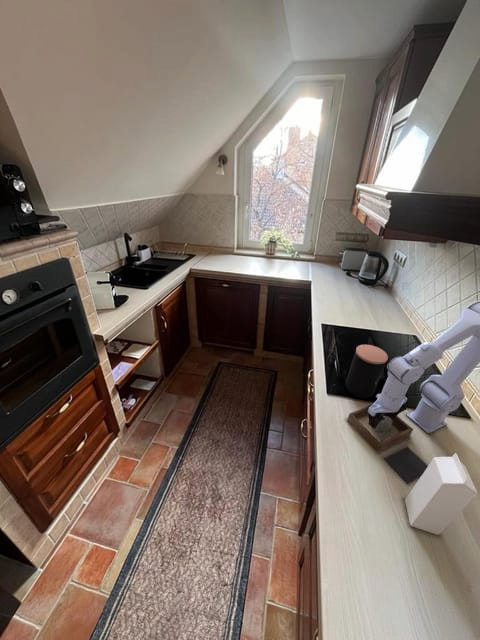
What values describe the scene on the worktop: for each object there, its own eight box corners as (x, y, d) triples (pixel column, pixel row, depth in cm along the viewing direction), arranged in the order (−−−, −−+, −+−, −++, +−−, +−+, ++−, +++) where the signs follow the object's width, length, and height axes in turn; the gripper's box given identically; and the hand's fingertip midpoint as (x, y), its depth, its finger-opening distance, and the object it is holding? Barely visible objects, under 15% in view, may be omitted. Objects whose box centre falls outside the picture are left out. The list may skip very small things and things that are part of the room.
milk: (410, 526, 61) (449, 474, 50) (404, 499, 66) (439, 447, 55) (439, 535, 60) (486, 485, 49) (431, 508, 65) (472, 456, 54)
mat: (407, 447, 79) (407, 446, 79) (431, 470, 73) (431, 469, 73) (384, 459, 76) (384, 458, 76) (407, 484, 70) (407, 483, 69)
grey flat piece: (386, 425, 86) (393, 409, 82) (388, 430, 84) (396, 413, 80) (365, 426, 86) (372, 409, 82) (368, 430, 84) (375, 414, 80)
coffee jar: (375, 402, 95) (390, 365, 86) (345, 395, 98) (356, 358, 89) (372, 383, 104) (385, 347, 95) (344, 377, 106) (355, 342, 97)
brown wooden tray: (377, 407, 93) (380, 401, 91) (409, 436, 83) (413, 429, 81) (346, 420, 88) (349, 413, 86) (376, 452, 78) (380, 445, 76)
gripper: (398, 378, 83) (385, 406, 89) (365, 390, 78) (354, 419, 84) (419, 393, 77) (403, 422, 84) (384, 407, 72) (371, 437, 79)
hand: (380, 422), depth 84 cm, fingers closed on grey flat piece, 7 cm apart
